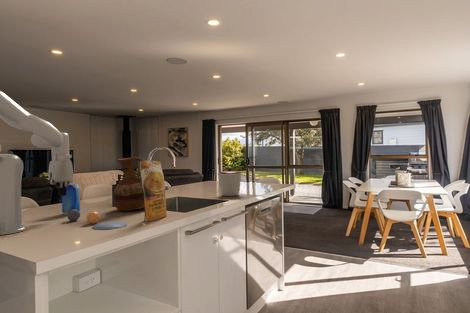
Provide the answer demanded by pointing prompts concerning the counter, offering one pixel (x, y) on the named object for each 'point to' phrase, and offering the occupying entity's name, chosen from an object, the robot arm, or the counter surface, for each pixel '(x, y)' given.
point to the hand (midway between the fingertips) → (62, 195)
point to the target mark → (109, 225)
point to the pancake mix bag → (153, 189)
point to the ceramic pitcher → (129, 187)
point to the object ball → (93, 217)
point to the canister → (229, 182)
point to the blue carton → (71, 198)
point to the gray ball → (73, 215)
